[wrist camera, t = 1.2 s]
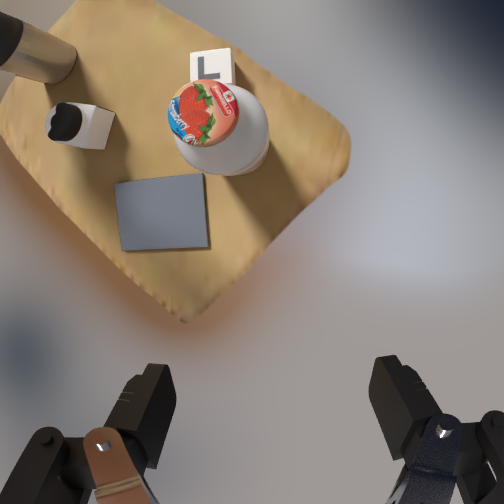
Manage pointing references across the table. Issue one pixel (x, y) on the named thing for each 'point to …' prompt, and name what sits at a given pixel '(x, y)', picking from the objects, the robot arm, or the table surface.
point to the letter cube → (213, 66)
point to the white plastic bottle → (219, 127)
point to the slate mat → (162, 213)
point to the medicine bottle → (79, 125)
